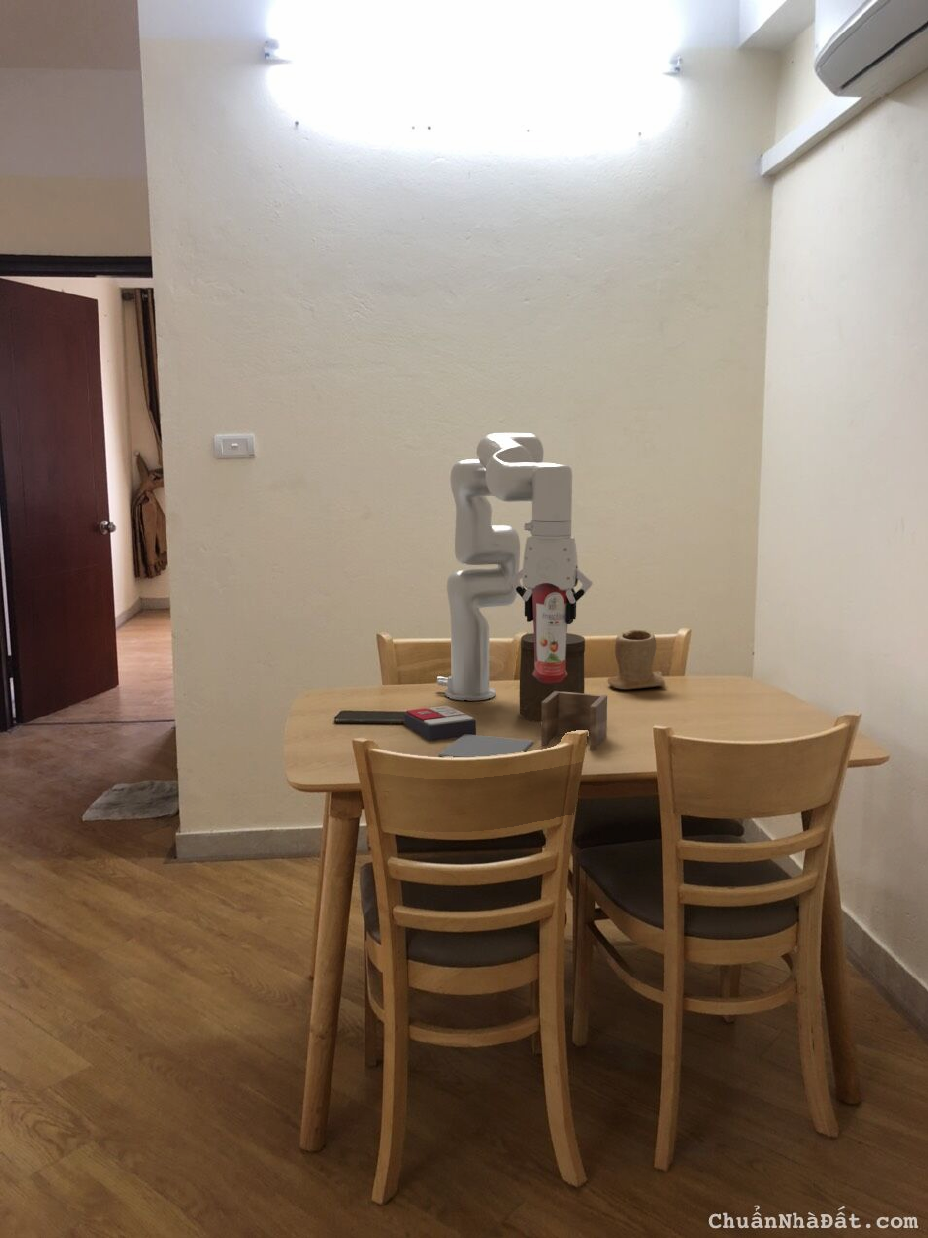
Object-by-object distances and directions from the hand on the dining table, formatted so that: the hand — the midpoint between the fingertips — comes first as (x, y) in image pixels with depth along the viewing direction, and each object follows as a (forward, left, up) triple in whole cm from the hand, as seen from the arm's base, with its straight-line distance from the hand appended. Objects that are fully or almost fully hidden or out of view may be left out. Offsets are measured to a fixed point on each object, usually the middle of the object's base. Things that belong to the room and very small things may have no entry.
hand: (550, 621), depth 186 cm
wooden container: (-8, +31, -27) cm, 42 cm away
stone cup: (+6, +64, -27) cm, 70 cm away
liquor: (0, 0, -12) cm, 12 cm away
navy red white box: (-28, +11, -28) cm, 41 cm away
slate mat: (-13, 0, -27) cm, 30 cm away
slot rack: (+2, +12, -27) cm, 30 cm away
